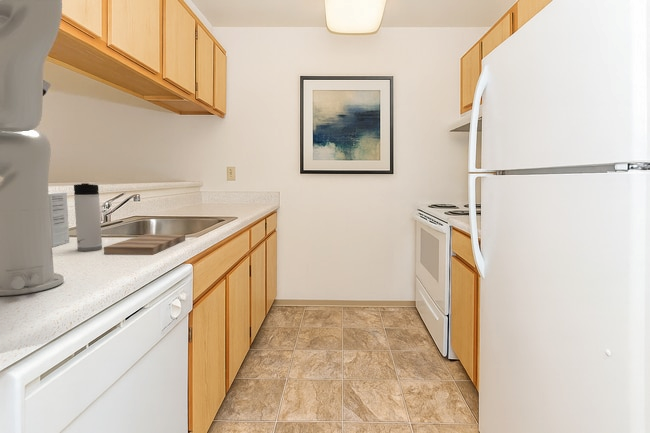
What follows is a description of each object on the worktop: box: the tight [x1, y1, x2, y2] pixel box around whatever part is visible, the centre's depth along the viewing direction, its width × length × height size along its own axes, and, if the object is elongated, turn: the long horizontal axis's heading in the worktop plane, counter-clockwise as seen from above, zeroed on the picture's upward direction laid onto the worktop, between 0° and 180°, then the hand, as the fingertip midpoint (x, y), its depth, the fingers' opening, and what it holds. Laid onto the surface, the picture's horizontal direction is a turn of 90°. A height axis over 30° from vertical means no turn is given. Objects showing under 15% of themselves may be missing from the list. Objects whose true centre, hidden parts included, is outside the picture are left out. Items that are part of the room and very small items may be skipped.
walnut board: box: [103, 233, 186, 256], centre depth 118 cm, size 24×14×2 cm, turn 179°
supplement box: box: [48, 191, 70, 248], centre depth 119 cm, size 10×9×17 cm
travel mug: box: [73, 182, 103, 252], centre depth 111 cm, size 6×7×20 cm
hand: (7, 114), depth 89 cm, fingers open, 9 cm apart
